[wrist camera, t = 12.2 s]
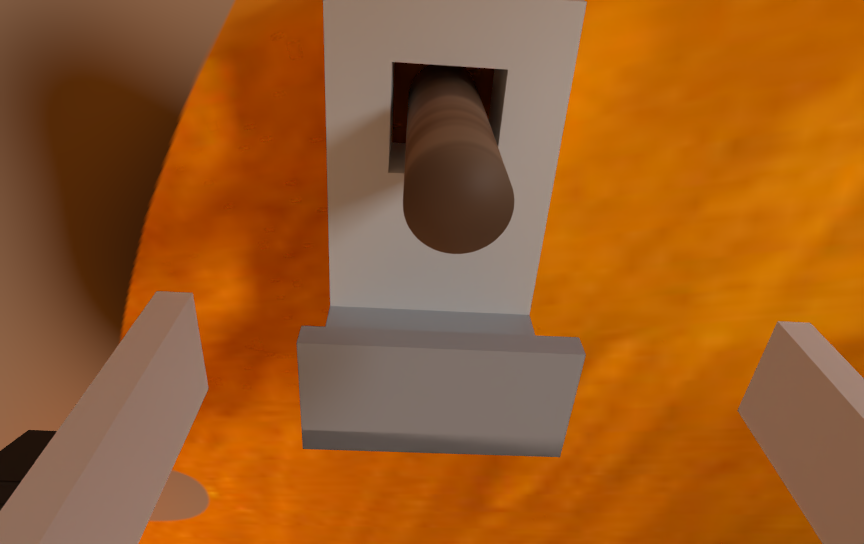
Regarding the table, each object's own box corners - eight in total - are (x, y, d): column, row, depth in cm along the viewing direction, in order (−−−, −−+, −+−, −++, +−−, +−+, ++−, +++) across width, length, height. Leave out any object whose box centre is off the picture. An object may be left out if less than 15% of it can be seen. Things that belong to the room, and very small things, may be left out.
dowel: (410, 59, 33) (405, 148, 20) (481, 64, 33) (521, 154, 20) (406, 129, 35) (400, 251, 22) (473, 133, 35) (506, 256, 22)
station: (336, -26, 31) (276, 11, 18) (563, -9, 31) (665, 38, 18) (339, 279, 40) (303, 448, 27) (514, 287, 41) (559, 457, 28)
